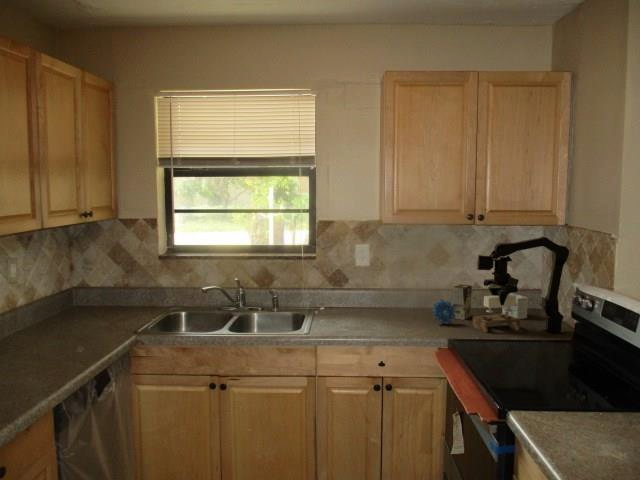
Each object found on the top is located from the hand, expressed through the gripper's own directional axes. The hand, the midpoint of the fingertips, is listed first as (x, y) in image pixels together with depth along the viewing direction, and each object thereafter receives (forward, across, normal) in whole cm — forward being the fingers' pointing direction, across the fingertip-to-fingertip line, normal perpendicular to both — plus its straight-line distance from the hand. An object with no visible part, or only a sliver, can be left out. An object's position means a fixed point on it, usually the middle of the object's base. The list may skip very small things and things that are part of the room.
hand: (499, 304), depth 242 cm
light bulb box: (+12, +19, -22) cm, 32 cm away
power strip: (+3, 0, 0) cm, 3 cm away
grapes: (+12, +14, +20) cm, 27 cm away
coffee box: (+12, +24, +5) cm, 28 cm away
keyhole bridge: (+12, +2, 0) cm, 12 cm away
